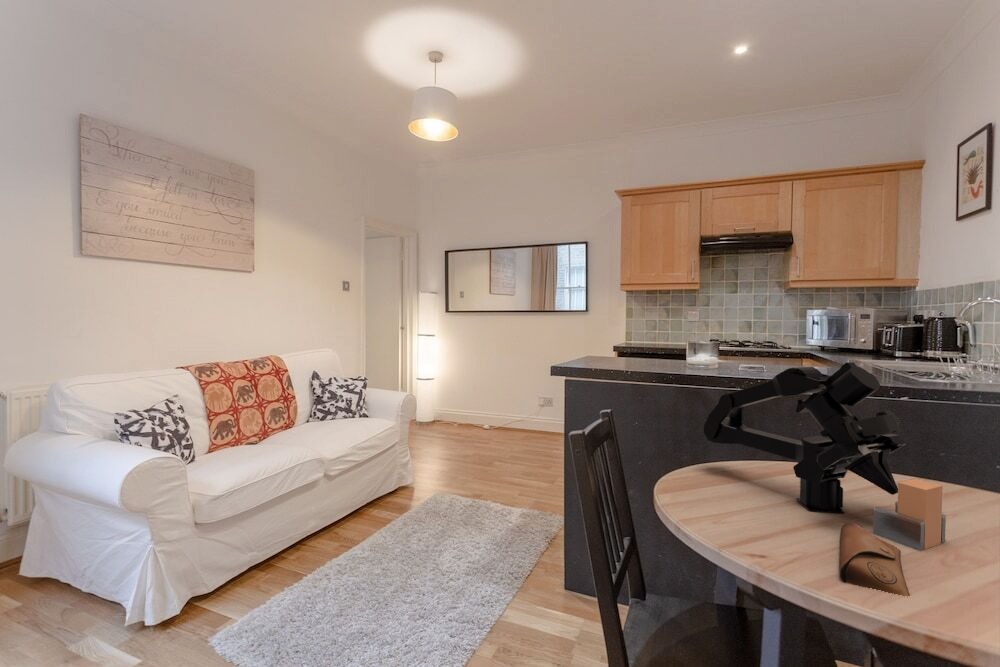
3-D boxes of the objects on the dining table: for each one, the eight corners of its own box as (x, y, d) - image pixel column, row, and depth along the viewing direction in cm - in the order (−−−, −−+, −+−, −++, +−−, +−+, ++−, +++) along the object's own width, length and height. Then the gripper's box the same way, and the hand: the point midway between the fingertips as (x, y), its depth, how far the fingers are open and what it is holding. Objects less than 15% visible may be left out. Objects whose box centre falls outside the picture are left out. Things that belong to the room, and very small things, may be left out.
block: (896, 539, 84) (898, 482, 84) (913, 534, 86) (914, 478, 86) (924, 549, 80) (926, 490, 80) (940, 543, 82) (942, 485, 82)
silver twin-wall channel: (873, 534, 86) (873, 507, 86) (898, 527, 89) (898, 501, 89) (919, 552, 80) (920, 522, 80) (945, 543, 83) (946, 515, 83)
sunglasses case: (915, 600, 66) (885, 552, 68) (860, 610, 70) (832, 564, 71) (901, 549, 81) (876, 511, 82) (856, 560, 84) (833, 522, 86)
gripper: (836, 399, 86) (904, 479, 77) (896, 392, 94) (965, 465, 84) (792, 432, 94) (849, 509, 85) (851, 423, 102) (910, 493, 92)
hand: (895, 493), depth 86 cm, fingers closed
